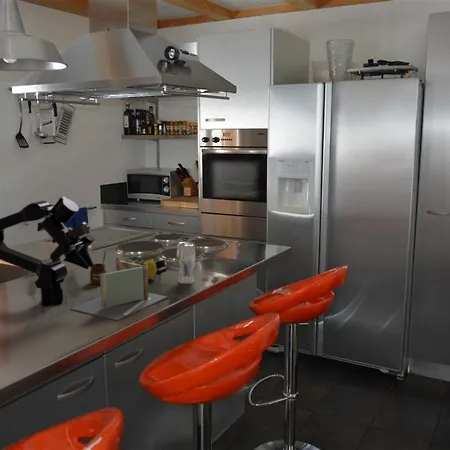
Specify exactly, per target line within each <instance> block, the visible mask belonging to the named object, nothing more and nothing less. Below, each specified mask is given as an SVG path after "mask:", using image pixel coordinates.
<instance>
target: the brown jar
mask: <svg viewBox="0 0 450 450" xmlns="http://www.w3.org/2000/svg"><path fill="white" fill-rule="evenodd" d="M106 256H107V251H106V250H104V252H103V257H102V263H93V266H92V267H90V270H89V271H90V272H89V279H90V281H89V282H90V284H91V285H94V286H101V282H100V274H104V273H107V270H106V269H105V268H106V266H105V264H104V263H105V260H106ZM90 258H91V259H93V258H94V261H97V259H96V258H95V255H93V254H92V255H90ZM94 261H93V260H92V262H94Z"/></svg>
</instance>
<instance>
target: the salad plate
mask: <svg viewBox="0 0 450 450" xmlns="http://www.w3.org/2000/svg"><path fill="white" fill-rule="evenodd" d="M150 260H151V261H153V262H154V263H155V264H156V269H157V270H156V274H157V273H158V274H159V273H163V272H165V271H166V270H168V265H167V262H166V261H165V260H164V259H163V260H162V259H158V258H150ZM145 261H146V260H144V259H142V258H140V259H135V260H133V261H130V263H135V264H139V265H143V263H144V262H145Z"/></svg>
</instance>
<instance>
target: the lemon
mask: <svg viewBox="0 0 450 450" xmlns="http://www.w3.org/2000/svg"><path fill="white" fill-rule="evenodd" d="M144 261H145V262H144V263H148V280H151V279H152V278H153V277H155V276H156V274H157V273H156V270H157V269H156V264H155V263H154V262H153V261H151V258H149V259H147V260H144Z"/></svg>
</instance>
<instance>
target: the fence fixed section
mask: <svg viewBox="0 0 450 450" xmlns="http://www.w3.org/2000/svg"><path fill="white" fill-rule="evenodd" d="M130 262H131V261H130ZM130 262H129V261H124V260H122V259H121V257H116V258H115V267H116V269H115V270H116V271H120V270H126V269H131V268H137V267H143V284H144V300H148V293H149V279H148V263H143V265H139V264H135V263H130Z"/></svg>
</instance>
